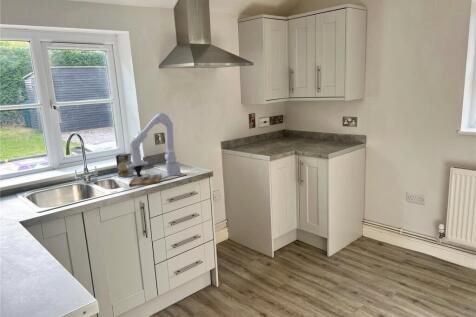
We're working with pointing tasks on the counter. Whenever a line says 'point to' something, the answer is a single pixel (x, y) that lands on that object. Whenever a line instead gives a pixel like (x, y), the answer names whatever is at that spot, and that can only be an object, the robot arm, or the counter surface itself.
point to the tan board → (139, 181)
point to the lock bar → (143, 176)
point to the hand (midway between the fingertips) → (138, 176)
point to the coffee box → (124, 165)
